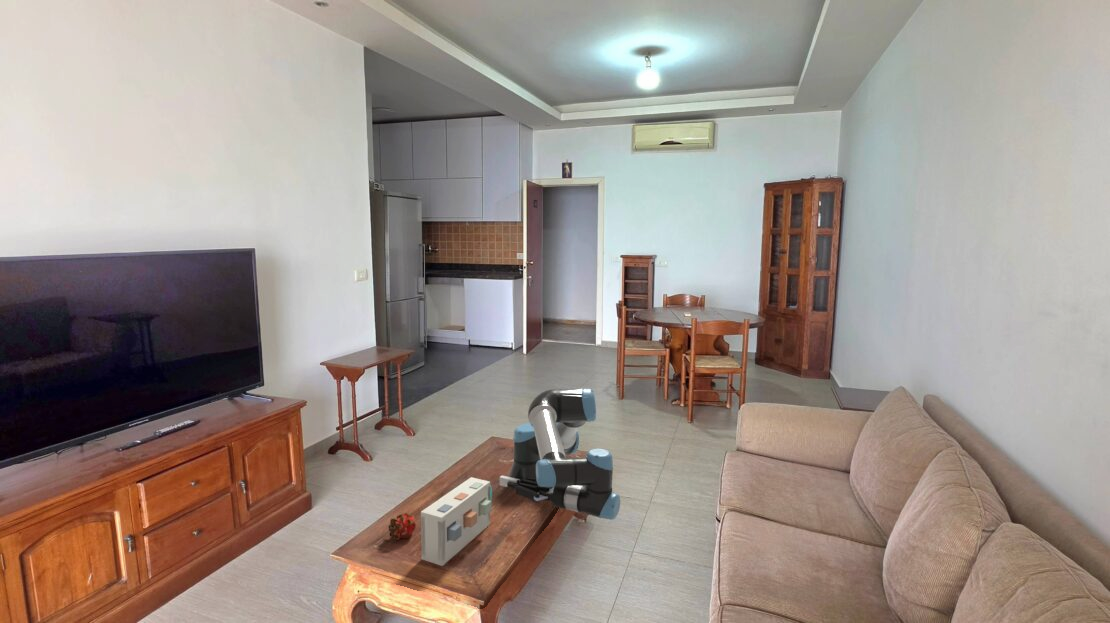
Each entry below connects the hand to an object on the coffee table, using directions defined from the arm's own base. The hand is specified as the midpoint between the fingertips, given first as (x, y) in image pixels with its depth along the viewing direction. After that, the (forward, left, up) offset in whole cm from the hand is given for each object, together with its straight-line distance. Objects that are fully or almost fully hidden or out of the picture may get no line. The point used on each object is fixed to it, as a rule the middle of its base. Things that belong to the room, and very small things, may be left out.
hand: (500, 480), depth 175 cm
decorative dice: (0, -34, -25) cm, 42 cm away
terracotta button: (+9, -9, -18) cm, 22 cm away
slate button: (+15, -2, -18) cm, 24 cm away
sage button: (+3, -15, -18) cm, 24 cm away
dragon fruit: (+29, -21, -25) cm, 43 cm away
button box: (+12, -12, -25) cm, 30 cm away
